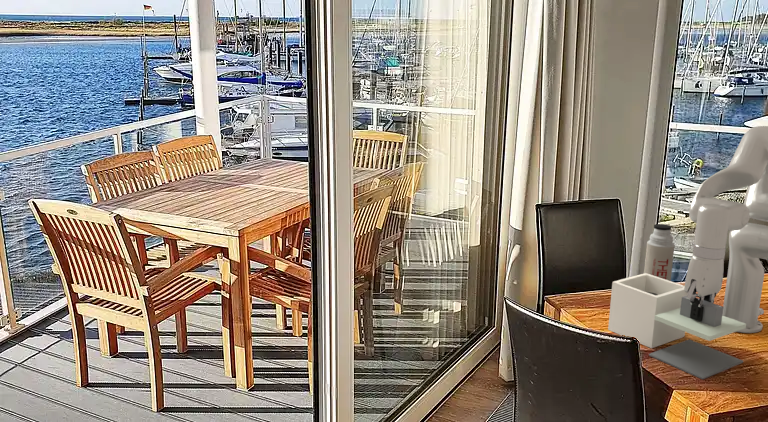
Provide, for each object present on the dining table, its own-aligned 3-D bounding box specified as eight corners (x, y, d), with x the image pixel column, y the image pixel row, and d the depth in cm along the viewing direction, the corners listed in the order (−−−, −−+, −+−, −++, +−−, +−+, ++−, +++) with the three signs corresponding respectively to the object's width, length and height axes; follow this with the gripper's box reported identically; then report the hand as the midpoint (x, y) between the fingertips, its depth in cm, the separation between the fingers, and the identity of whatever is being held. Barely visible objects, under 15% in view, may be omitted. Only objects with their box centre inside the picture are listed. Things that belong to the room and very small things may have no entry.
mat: (689, 340, 196) (689, 339, 196) (743, 362, 183) (743, 360, 183) (648, 355, 187) (648, 353, 187) (702, 379, 174) (702, 377, 174)
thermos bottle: (667, 316, 213) (676, 230, 206) (639, 313, 216) (648, 227, 209) (667, 307, 220) (676, 223, 214) (640, 304, 223) (649, 221, 217)
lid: (690, 311, 193) (693, 287, 192) (745, 331, 180) (748, 305, 178) (653, 323, 185) (656, 297, 183) (708, 344, 172) (712, 317, 170)
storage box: (640, 319, 211) (645, 273, 208) (684, 336, 199) (690, 287, 195) (608, 329, 203) (612, 281, 200) (651, 348, 191) (656, 297, 188)
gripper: (713, 244, 185) (705, 308, 189) (676, 252, 176) (668, 319, 181) (740, 251, 179) (731, 317, 183) (703, 260, 170) (694, 329, 174)
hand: (700, 317), depth 182 cm, fingers closed on lid, 3 cm apart
